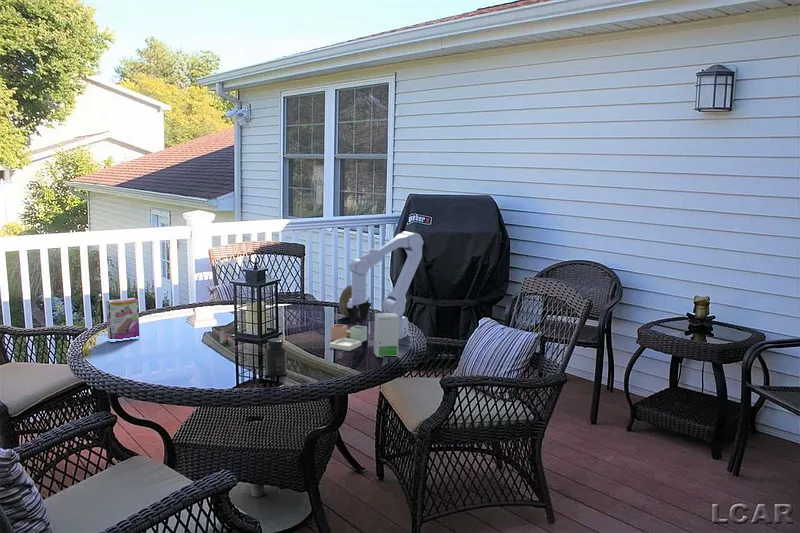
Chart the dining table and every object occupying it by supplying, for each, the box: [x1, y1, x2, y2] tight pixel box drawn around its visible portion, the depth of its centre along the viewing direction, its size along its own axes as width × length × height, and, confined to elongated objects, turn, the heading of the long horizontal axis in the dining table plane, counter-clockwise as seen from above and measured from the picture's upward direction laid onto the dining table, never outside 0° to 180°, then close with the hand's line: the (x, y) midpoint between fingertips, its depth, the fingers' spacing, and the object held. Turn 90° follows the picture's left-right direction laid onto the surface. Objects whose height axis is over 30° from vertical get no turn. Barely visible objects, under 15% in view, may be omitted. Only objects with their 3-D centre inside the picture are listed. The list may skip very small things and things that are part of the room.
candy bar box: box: [105, 297, 140, 339], centre depth 259 cm, size 11×5×16 cm, turn 126°
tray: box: [329, 338, 362, 352], centre depth 256 cm, size 9×9×2 cm
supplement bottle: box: [265, 337, 287, 377], centre depth 221 cm, size 7×7×12 cm
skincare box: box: [373, 312, 400, 358], centre depth 244 cm, size 8×7×16 cm
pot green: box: [349, 324, 368, 344], centre depth 264 cm, size 5×5×6 cm
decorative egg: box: [338, 284, 360, 319], centre depth 302 cm, size 11×11×15 cm
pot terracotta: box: [330, 323, 348, 341], centre depth 266 cm, size 5×5×6 cm
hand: (358, 322), depth 263 cm, fingers open, 7 cm apart
